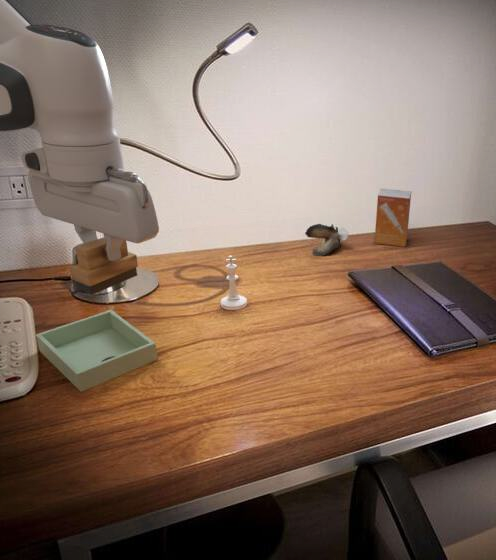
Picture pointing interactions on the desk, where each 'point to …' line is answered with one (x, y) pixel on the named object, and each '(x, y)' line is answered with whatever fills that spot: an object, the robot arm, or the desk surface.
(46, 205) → the robot arm
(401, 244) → the small box
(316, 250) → the grey brown curved piece
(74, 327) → the tray
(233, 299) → the chess piece
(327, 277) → the desk surface
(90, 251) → the brush
